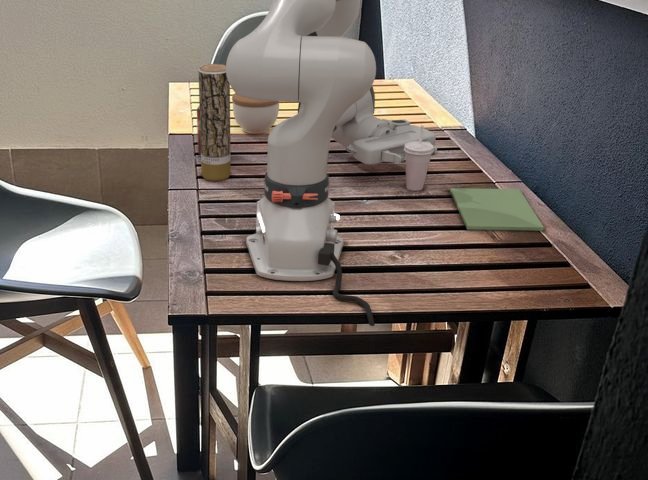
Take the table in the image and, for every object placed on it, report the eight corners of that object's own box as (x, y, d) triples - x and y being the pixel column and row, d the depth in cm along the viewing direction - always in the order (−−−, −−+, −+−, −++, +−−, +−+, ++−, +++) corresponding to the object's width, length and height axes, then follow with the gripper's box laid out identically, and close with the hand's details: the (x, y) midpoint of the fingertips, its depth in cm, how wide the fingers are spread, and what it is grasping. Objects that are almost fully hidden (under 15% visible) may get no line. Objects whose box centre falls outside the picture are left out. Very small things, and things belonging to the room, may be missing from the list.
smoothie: (433, 185, 182) (440, 124, 175) (422, 195, 178) (430, 133, 170) (406, 180, 185) (412, 120, 178) (395, 189, 181) (401, 128, 173)
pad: (543, 230, 161) (544, 227, 161) (466, 229, 162) (467, 225, 162) (519, 192, 178) (519, 189, 178) (449, 191, 179) (450, 188, 179)
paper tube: (227, 183, 185) (226, 72, 172) (198, 181, 186) (195, 71, 173) (233, 172, 191) (232, 64, 178) (205, 170, 192) (202, 63, 179)
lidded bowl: (254, 140, 210) (254, 97, 205) (222, 129, 218) (222, 88, 213) (288, 129, 217) (290, 88, 212) (256, 119, 226) (257, 79, 220)
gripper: (342, 133, 181) (383, 151, 171) (411, 118, 190) (453, 134, 180) (340, 160, 185) (380, 179, 174) (408, 144, 194) (450, 161, 183)
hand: (418, 156), depth 177 cm, fingers open, 8 cm apart
